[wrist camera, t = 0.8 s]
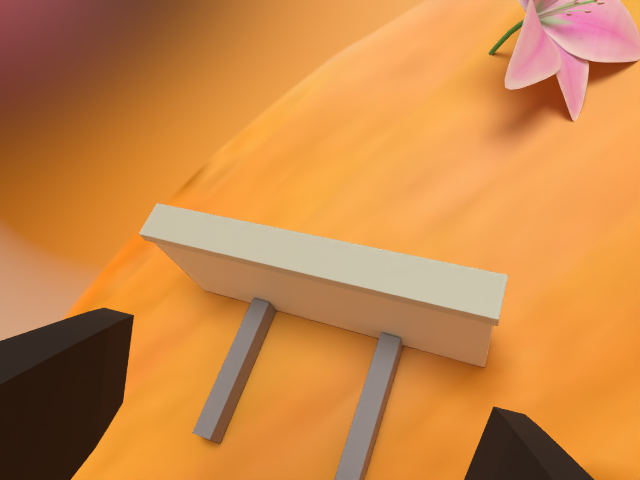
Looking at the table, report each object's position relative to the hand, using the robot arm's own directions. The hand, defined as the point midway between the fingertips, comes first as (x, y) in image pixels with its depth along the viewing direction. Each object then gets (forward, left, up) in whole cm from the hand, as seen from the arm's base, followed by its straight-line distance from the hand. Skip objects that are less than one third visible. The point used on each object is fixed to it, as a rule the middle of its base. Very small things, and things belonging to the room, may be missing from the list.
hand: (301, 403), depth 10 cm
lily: (+26, -3, -15) cm, 30 cm away
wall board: (+3, +5, -14) cm, 15 cm away
